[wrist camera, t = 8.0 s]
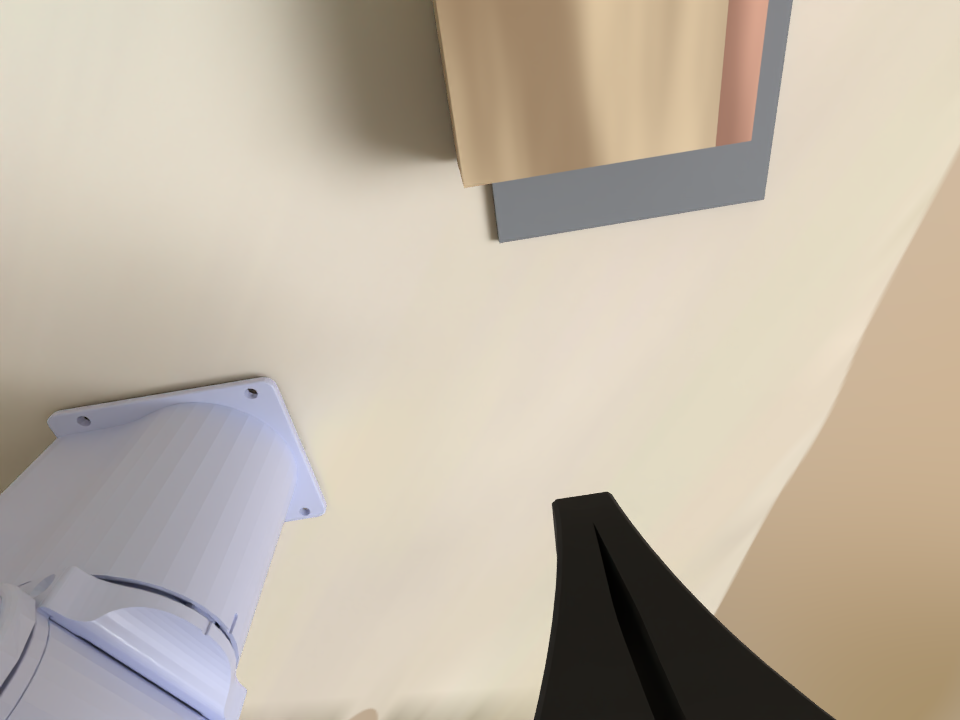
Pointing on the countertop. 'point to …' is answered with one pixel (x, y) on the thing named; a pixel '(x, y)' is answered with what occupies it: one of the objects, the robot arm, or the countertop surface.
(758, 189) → the rubber mat
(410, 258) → the countertop surface
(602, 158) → the oak block
